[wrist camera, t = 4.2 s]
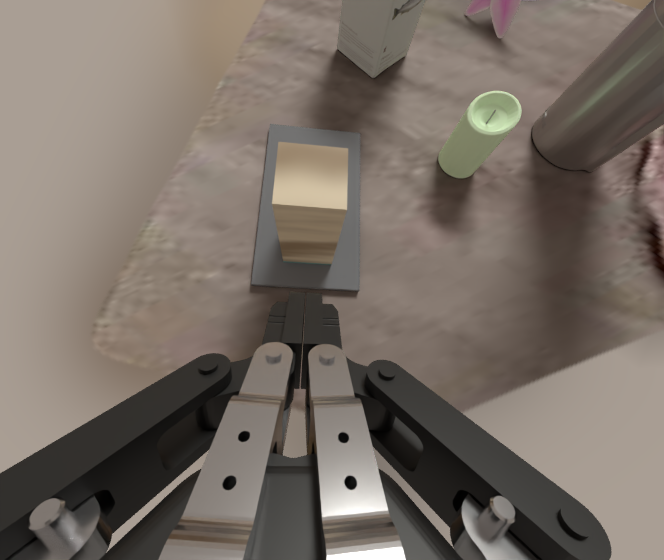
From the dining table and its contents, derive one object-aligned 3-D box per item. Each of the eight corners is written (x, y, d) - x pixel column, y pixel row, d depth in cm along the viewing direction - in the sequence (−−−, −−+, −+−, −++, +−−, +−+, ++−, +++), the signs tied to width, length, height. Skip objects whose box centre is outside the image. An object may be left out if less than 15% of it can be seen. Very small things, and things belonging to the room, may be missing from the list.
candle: (451, 184, 35) (493, 133, 27) (430, 153, 36) (465, 94, 28) (483, 171, 36) (532, 117, 28) (461, 140, 37) (503, 81, 29)
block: (331, 265, 30) (346, 209, 19) (283, 262, 30) (271, 203, 19) (332, 222, 32) (348, 148, 21) (287, 218, 31) (278, 141, 20)
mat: (358, 291, 30) (359, 290, 30) (252, 285, 29) (251, 283, 29) (359, 136, 36) (360, 133, 35) (270, 127, 35) (270, 123, 34)
